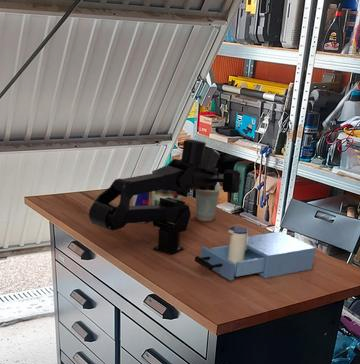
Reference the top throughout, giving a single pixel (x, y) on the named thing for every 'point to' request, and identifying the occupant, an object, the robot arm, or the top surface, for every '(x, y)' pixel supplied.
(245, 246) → the blue-lidded canister
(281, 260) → the cabinet
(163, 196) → the translucent dark-topped cylinder
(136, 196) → the energy drink
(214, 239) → the top surface
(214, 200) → the coffee cup
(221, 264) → the drawer
